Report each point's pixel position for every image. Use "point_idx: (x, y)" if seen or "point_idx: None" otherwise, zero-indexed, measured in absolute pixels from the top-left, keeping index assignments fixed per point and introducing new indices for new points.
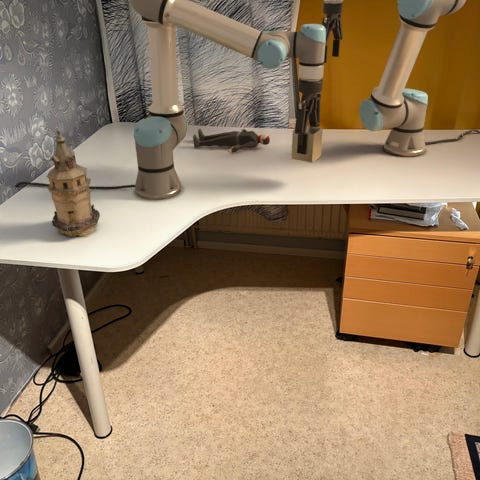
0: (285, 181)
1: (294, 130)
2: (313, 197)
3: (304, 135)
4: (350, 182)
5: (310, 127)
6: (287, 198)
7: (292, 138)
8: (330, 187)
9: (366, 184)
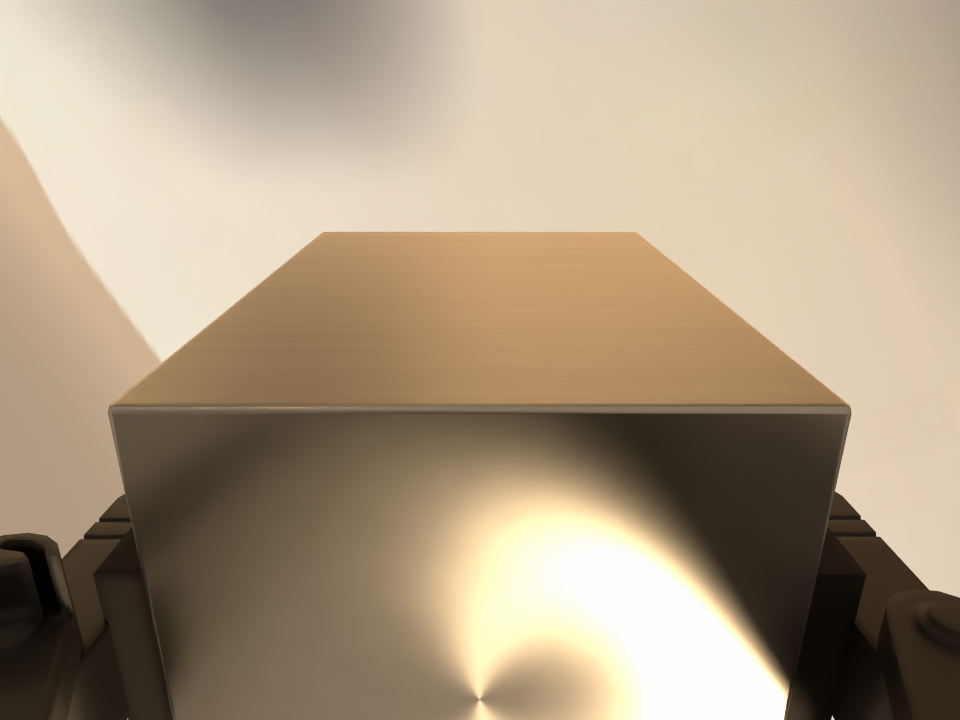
0: (453, 93)
1: (158, 446)
2: None
3: (137, 708)
4: None
5: (673, 698)
6: (136, 279)
7: (206, 328)
8: None
9: None
